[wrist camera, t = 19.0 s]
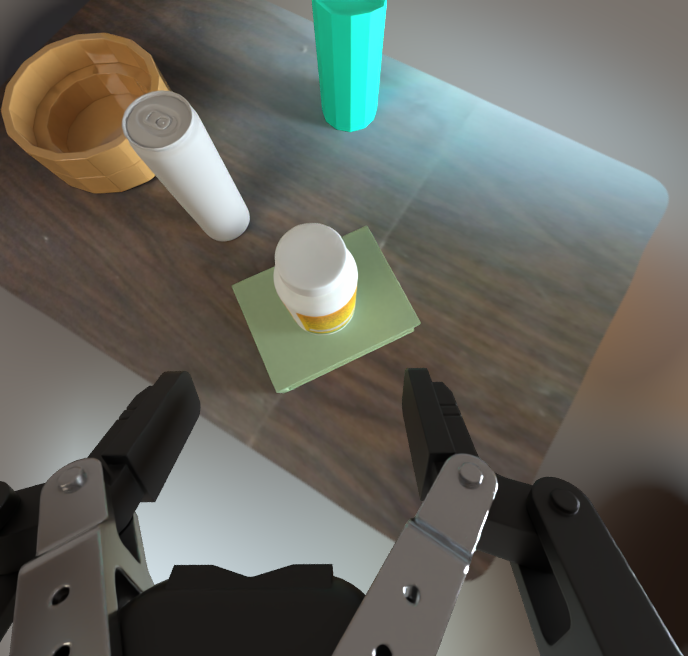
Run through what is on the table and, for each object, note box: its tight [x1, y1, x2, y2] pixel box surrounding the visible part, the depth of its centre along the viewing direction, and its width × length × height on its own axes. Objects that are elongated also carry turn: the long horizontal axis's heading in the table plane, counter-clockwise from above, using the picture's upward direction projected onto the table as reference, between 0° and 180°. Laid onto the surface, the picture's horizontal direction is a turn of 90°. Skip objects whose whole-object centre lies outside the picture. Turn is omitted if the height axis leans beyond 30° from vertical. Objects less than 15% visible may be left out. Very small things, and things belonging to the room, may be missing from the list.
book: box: [232, 226, 421, 393], centre depth 28 cm, size 13×10×3 cm
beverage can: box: [122, 90, 250, 241], centre depth 26 cm, size 5×5×12 cm
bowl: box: [1, 33, 172, 193], centre depth 32 cm, size 15×15×5 cm
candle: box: [312, 0, 387, 132], centre depth 29 cm, size 6×6×12 cm
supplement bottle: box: [273, 223, 358, 335], centre depth 22 cm, size 5×5×10 cm
